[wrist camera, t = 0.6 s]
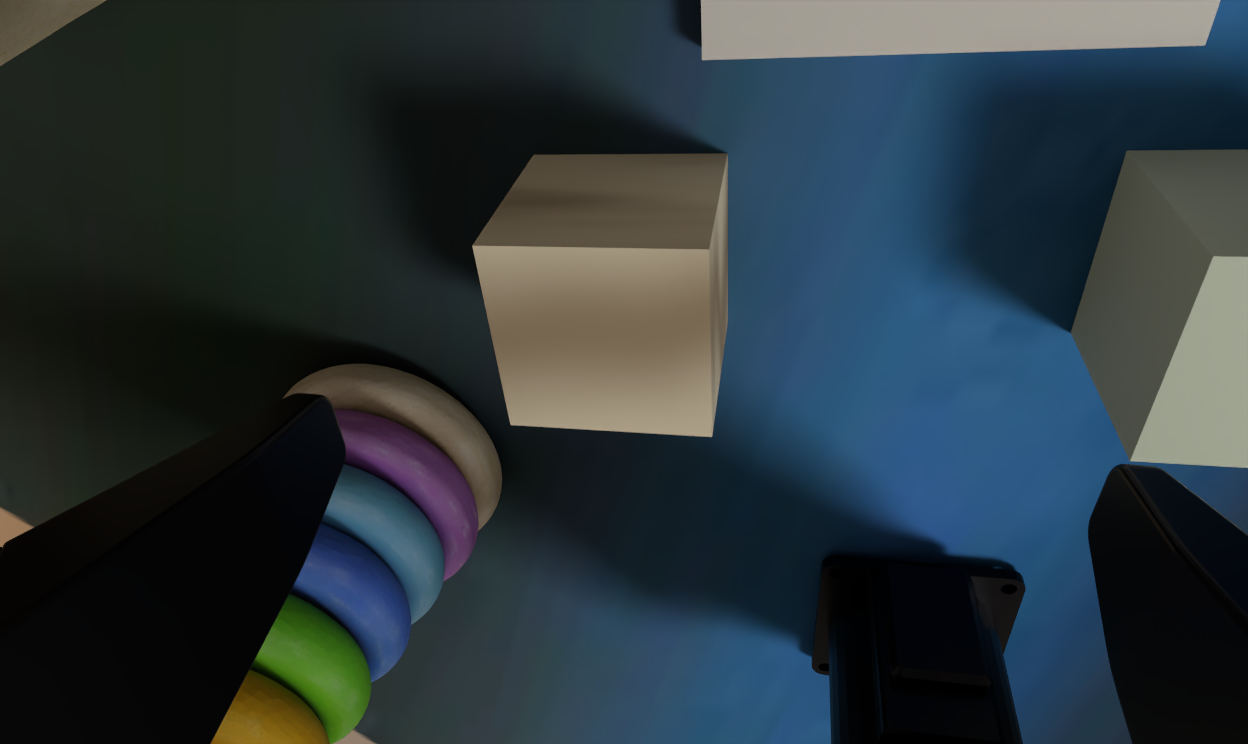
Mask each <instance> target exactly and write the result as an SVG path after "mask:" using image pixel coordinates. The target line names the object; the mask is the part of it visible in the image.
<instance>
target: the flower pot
mask: <svg viewBox="0 0 1248 744" xmlns="http://www.w3.org/2000/svg"><path fill="white" fill-rule="evenodd" d="M104 1H106V0H0V66H1V65H3V64H4V63H6V62H7V61H9V60H11V59H12V58H14V57H15V56H17V55H19V54H20V53H22V52H23V51H25V50H27V49H28V48H30V47H31V46H33V45H35V44H36V43H38V42H39V41H41V40H42V39H44V38H46V37H47V36H49V35H50V34H52V33H53V32H55V31H57V30H58V29H60V28H61V27H63V26H64V25H66V24H68V23H69V22H71V21H73V20H74V19H76V18H78V17H79V16H81V15H83V14H84V13H86V12H88V11H89V10H91V9H93V8H94V7H96V6H98V5H100V4H101V3H103V2H104Z"/></svg>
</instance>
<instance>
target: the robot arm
mask: <svg viewBox="0 0 1248 744" xmlns="http://www.w3.org/2000/svg"><path fill="white" fill-rule="evenodd" d="M345 457H346V446H345V442H344V439H343V435H342V432H341V429H340V426H339V423H338V420H337V417H336V414H335V411H334V408H333V405H332V403H331V401H330V400H329V399H328V398H327V397H326V396H324V395H319V394H307V393H294V394H291V395H289V396H287V397H285V398H283V399H281V400H279V401H277V402H276V403H274V404H272V405H270V406H268V407H266V408H264V409H262V410H260V411H258V412H256V413H254V414H252V415H250V416H249V417H247V418H245V419H243V420H241V421H239V422H237V423H235V424H233V425H231V426H229V427H227V428H225V429H223V430H221V431H220V432H218V433H216V434H214V435H212V436H210V437H208V438H206V439H204V440H202V441H200V442H198V443H196V444H194V445H193V446H191V447H189V448H187V449H185V450H183V451H181V452H179V453H177V454H175V455H173V456H171V457H169V458H167V459H166V460H164V461H162V462H160V463H158V464H156V465H154V466H152V467H150V468H148V469H146V470H144V471H142V472H140V473H138V474H137V475H135V476H133V477H131V478H129V479H127V480H125V481H123V482H121V483H119V484H117V485H115V486H113V487H111V488H110V489H108V490H106V491H104V492H102V493H100V494H98V495H96V496H94V497H92V498H90V499H88V500H86V501H84V502H83V503H81V504H79V505H77V506H75V507H73V508H71V509H69V510H67V511H65V512H63V513H61V514H59V515H57V516H55V517H54V518H52V519H50V520H48V521H46V522H44V523H42V524H40V525H38V526H36V527H34V528H32V529H30V530H29V531H27V532H25V533H23V534H21V535H19V536H17V537H15V538H13V539H11V540H9V541H7V542H6V543H5V544H4V545H3V548H2V547H0V744H211V742H212V740H213V738H214V736H215V735H216V733H217V731H218V729H219V727H220V725H221V723H222V721H223V719H224V717H225V715H226V714H227V712H228V710H229V708H230V706H231V704H232V702H233V700H234V698H235V696H236V695H237V693H238V691H239V689H240V687H241V685H242V683H243V681H244V679H245V677H246V675H247V674H248V672H249V670H250V668H251V666H252V664H253V662H254V660H255V658H256V656H257V655H258V653H259V651H260V649H261V647H262V645H263V643H264V641H265V639H266V637H267V635H268V634H269V632H270V630H271V628H272V626H273V624H274V622H275V620H276V618H277V616H278V615H279V613H280V611H281V609H282V607H283V605H284V603H285V601H286V599H287V597H288V595H289V594H290V592H291V590H292V588H293V586H294V584H295V582H296V580H297V578H298V576H299V574H300V572H301V570H302V568H303V566H304V563H305V561H306V559H307V556H308V554H309V552H310V549H311V547H312V544H313V542H314V539H315V537H316V534H317V532H318V529H319V527H320V524H321V521H322V519H323V516H324V514H325V511H326V509H327V506H328V504H329V501H330V499H331V496H332V494H333V491H334V488H335V486H336V483H337V481H338V478H339V476H340V473H341V471H342V468H343V465H344V462H345ZM1088 540H1089V547H1090V552H1091V558H1092V564H1093V570H1094V576H1095V582H1096V588H1097V594H1098V600H1099V606H1100V612H1101V618H1102V624H1103V630H1104V635H1105V641H1106V647H1107V652H1108V658H1109V663H1110V668H1111V672H1112V676H1113V679H1114V683H1115V687H1116V690H1117V694H1118V697H1119V701H1120V704H1121V707H1122V711H1123V714H1124V717H1125V721H1126V724H1127V727H1128V731H1129V734H1130V737H1131V741H1132V744H1248V534H1246V533H1245V532H1244V531H1242V530H1241V529H1240V528H1238V527H1237V526H1236V525H1235V524H1233V523H1232V522H1231V521H1229V520H1228V519H1227V518H1225V517H1224V516H1223V515H1222V514H1220V513H1219V512H1218V511H1216V510H1215V509H1214V508H1212V507H1211V506H1210V505H1209V504H1207V503H1206V502H1205V501H1203V500H1202V499H1201V498H1199V497H1198V496H1197V495H1196V494H1194V493H1193V492H1192V491H1190V490H1189V489H1188V488H1186V487H1185V486H1184V485H1183V484H1181V483H1180V482H1179V481H1177V480H1176V479H1175V478H1173V477H1172V476H1171V475H1170V474H1168V473H1167V472H1165V471H1164V470H1162V469H1160V468H1158V467H1153V466H1142V465H1130V464H1120V465H1117V466H1115V467H1114V468H1113V469H1112V470H1111V471H1110V473H1109V474H1108V476H1107V479H1106V481H1105V484H1104V486H1103V488H1102V491H1101V493H1100V495H1099V498H1098V500H1097V503H1096V505H1095V507H1094V510H1093V512H1092V514H1091V517H1090V520H1089V526H1088ZM834 569H838V570H834ZM1024 593H1025V584H1024V580H1023V577H1022V575H1021V574H1020V573H1018V572H1017V571H1013V570H1007V569H995V568H983V567H971V566H959V565H947V564H935V563H923V562H911V561H899V560H887V559H875V558H863V557H851V556H839V555H836V556H829V557H826V558H825V559H824V560H823V562H822V564H821V574H820V583H819V593H818V602H817V612H816V621H815V631H814V640H813V650H812V668H813V670H814V671H815V672H817V673H819V674H823V675H829V681H830V716H831V744H1023V742H1022V738H1021V733H1020V729H1019V724H1018V720H1017V715H1016V711H1015V706H1014V702H1013V697H1012V693H1011V688H1010V684H1009V679H1008V675H1007V670H1006V666H1005V661H1004V657H1003V653H1004V650H1005V647H1006V645H1007V642H1008V639H1009V636H1010V633H1011V630H1012V627H1013V624H1014V621H1015V619H1016V616H1017V613H1018V610H1019V607H1020V604H1021V601H1022V598H1023V595H1024Z"/></svg>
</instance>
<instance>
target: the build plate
mask: <svg viewBox="0 0 1248 744" xmlns="http://www.w3.org/2000/svg"><path fill="white" fill-rule="evenodd" d="M1219 3H1220V0H701V31H702V60H725V59H759V58H794V57H828V56H863V55H897V54H932V53H966V52H1001V51H1035V50H1070V49H1104V48H1139V47H1173V46H1205V44H1206V41H1207V39H1208V36H1209V33H1210V30H1211V27H1212V24H1213V21H1214V18H1215V15H1216V12H1217V9H1218V6H1219Z"/></svg>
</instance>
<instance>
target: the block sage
mask: <svg viewBox="0 0 1248 744" xmlns="http://www.w3.org/2000/svg"><path fill="white" fill-rule="evenodd" d="M1071 335H1072V337H1073V339H1074V341H1075V343H1076V345H1077V348H1078V350H1079V352H1080V354H1081V356H1082V358H1083V361H1084V363H1085V365H1086V367H1087V369H1088V371H1089V373H1090V376H1091V378H1092V380H1093V382H1094V384H1095V386H1096V389H1097V391H1098V393H1099V395H1100V397H1101V399H1102V402H1103V404H1104V406H1105V408H1106V410H1107V412H1108V414H1109V417H1110V419H1111V421H1112V423H1113V425H1114V427H1115V430H1116V432H1117V434H1118V436H1119V438H1120V440H1121V443H1122V445H1123V447H1124V449H1125V451H1126V453H1127V456H1128V458H1129V460H1130V461H1138V462H1155V463H1172V464H1189V465H1207V466H1224V467H1241V468H1248V150H1127V151H1126V155H1125V158H1124V161H1123V164H1122V168H1121V171H1120V174H1119V178H1118V181H1117V184H1116V187H1115V191H1114V194H1113V197H1112V200H1111V204H1110V207H1109V210H1108V213H1107V217H1106V220H1105V223H1104V226H1103V230H1102V233H1101V236H1100V239H1099V243H1098V246H1097V249H1096V252H1095V256H1094V259H1093V262H1092V265H1091V269H1090V272H1089V275H1088V278H1087V282H1086V285H1085V288H1084V291H1083V295H1082V298H1081V301H1080V304H1079V308H1078V311H1077V314H1076V317H1075V321H1074V324H1073V327H1072V331H1071Z"/></svg>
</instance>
